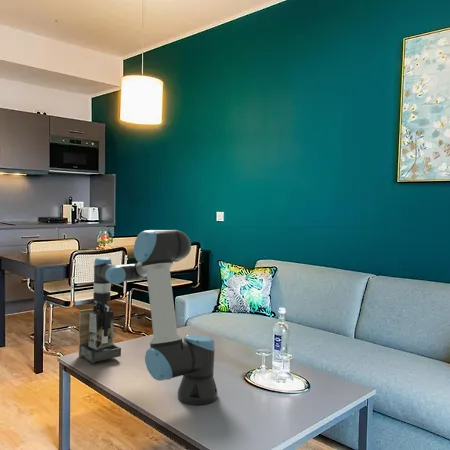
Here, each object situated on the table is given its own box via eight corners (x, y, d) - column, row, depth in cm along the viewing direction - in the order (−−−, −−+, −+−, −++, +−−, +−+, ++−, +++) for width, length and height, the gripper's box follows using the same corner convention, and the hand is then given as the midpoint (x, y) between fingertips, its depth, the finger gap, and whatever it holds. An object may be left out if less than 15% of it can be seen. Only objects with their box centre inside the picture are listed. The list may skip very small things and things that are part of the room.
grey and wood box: (121, 360, 203) (122, 313, 201) (91, 367, 194) (92, 317, 193) (106, 351, 214) (107, 306, 213) (78, 357, 205) (79, 310, 204)
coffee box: (96, 350, 197) (97, 314, 197) (88, 346, 201) (88, 312, 201) (113, 345, 205) (114, 311, 204) (104, 342, 209) (105, 308, 208)
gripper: (119, 294, 196) (118, 345, 198) (100, 287, 212) (99, 333, 213) (103, 296, 192) (102, 348, 193) (85, 288, 207) (84, 336, 208)
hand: (100, 340), depth 203 cm, fingers closed on coffee box, 7 cm apart
